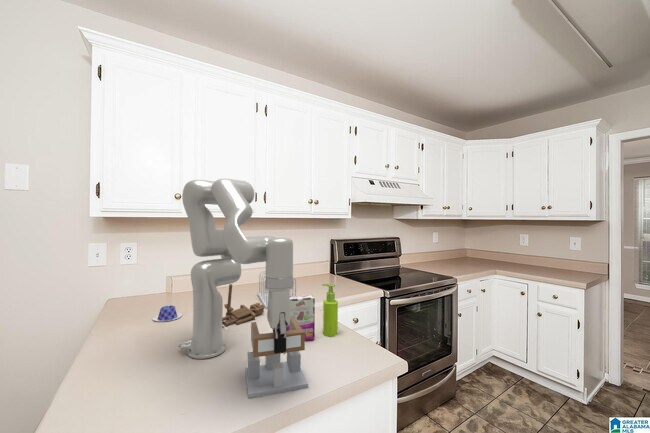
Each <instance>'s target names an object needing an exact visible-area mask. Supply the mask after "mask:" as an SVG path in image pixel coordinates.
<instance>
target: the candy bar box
mask: <svg viewBox="0 0 650 433" xmlns="http://www.w3.org/2000/svg"><path fill="white" fill-rule="evenodd" d="M315 302H316V301H315V296H313V295H312V294H309V295H307V294H306V295H296V296H295V295H293V296H292V295H291V296H290V318H295V320H296V321H297V323H298V324H299V326H300V327H301V329H303V330H304V332H305V342H308V341H310V342H311V341H315V338H316V337H315V335H316V334H315V332H316V331H315V330H316V327H315V326H316V325H315V322H316V320H315V310H316V308H315ZM286 331H290V324H289V326H288V327H286Z"/></svg>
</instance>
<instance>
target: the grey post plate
mask: <svg viewBox="0 0 650 433" xmlns="http://www.w3.org/2000/svg"><path fill="white" fill-rule="evenodd" d="M301 357H302V354H301V351H295V352H289V353H286V361H281V354H275V355H268V356H265V364H261V362H260V361H261V359H260V357H254V358H253V351H248V352H247V366H246V367H245V380H246V379H247V380H246V389H248V390H247V398H248V399H251V398H250V397H254V398H259V397H263V395H264V396H268V395H269V394H270V395H275V394H279V393H285V392H291V391H297V390H302V389H307V388H309V382H308V380H307V378H306V377H305V374H304V372H303V370H302V367H301V366H302V365H301V364H302V362H301V359H302V358H301ZM258 396H259V397H258Z"/></svg>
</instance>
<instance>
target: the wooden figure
mask: <svg viewBox="0 0 650 433" xmlns="http://www.w3.org/2000/svg"><path fill="white" fill-rule="evenodd" d="M228 285H229V286H228V295H227V296H228V297H227V303H225V304H224V308H225V309H226V313H225V316H224V317H223V316H222V329H223V328H225V330H227V331H229V329H228V328H227V326H229V325H231V324H234V323H235V325H236V326H240V325H242V324H244V323H246V322H249V321H251V320H252V321H255V320H256V316H258V315H260V314H262V313H264V312H265V306H264V305H263V304H261V303H260V302H256V303H253V304H250V306H249V308H248V307H247V306H246V305H244V304H240V305H239V306H240V307H239V308H237V309H235V310H234V308H233V307H232V295H233V294H232V292H233V283H230V284H228Z"/></svg>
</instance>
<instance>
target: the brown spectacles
mask: <svg viewBox="0 0 650 433" xmlns="http://www.w3.org/2000/svg"><path fill="white" fill-rule="evenodd" d="M259 332H260V331H259V328H258V323H257V322H256V321H251V323H250V341H251V346H252V347H251V348H252V352H253V358H254V357H259V358H261V357H266V356H268V355H275V353H274V338H275V332H273V331H272V332H266V333H265V332H264V333H259ZM305 342H306V341H305V332H304V330H303V329H301V327H300V326H299V324H298V323H297V321H296V320H295V318H290V331H286V352H283V353H276V354H280V355H282V354H287V353H289V352H295V351H299V352H301V351H305V350H306V348H305V347H306V346H305V345H306V343H305Z"/></svg>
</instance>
